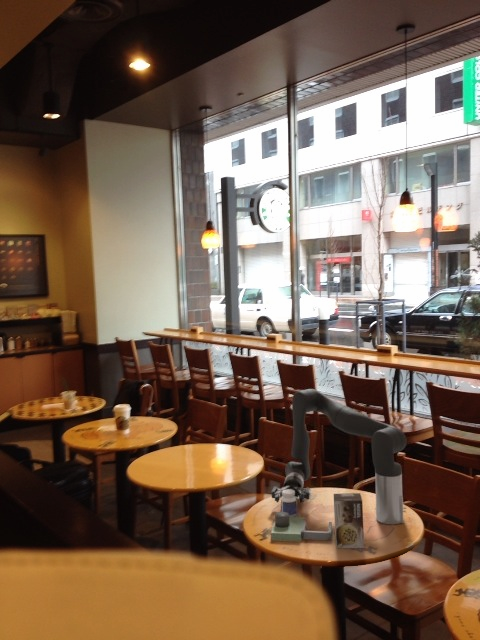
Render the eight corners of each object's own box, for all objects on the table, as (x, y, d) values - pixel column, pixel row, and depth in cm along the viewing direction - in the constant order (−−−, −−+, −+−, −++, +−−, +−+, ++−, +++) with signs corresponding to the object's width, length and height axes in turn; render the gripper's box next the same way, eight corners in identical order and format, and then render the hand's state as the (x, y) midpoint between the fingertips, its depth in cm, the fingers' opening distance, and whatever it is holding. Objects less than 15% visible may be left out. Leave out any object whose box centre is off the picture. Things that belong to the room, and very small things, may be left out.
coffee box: (362, 539, 195) (361, 492, 193) (364, 548, 188) (363, 500, 187) (334, 539, 195) (333, 492, 194) (335, 548, 189) (334, 500, 188)
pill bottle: (300, 518, 214) (299, 491, 213) (288, 522, 211) (287, 495, 210) (290, 513, 219) (289, 487, 218) (278, 517, 216) (277, 490, 215)
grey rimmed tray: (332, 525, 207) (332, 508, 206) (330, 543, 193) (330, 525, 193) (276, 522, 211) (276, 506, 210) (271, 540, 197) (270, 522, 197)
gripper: (275, 474, 231) (269, 489, 215) (311, 475, 228) (307, 491, 213) (276, 493, 232) (269, 509, 216) (311, 494, 229) (308, 511, 213)
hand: (288, 500), depth 214 cm, fingers open, 8 cm apart
